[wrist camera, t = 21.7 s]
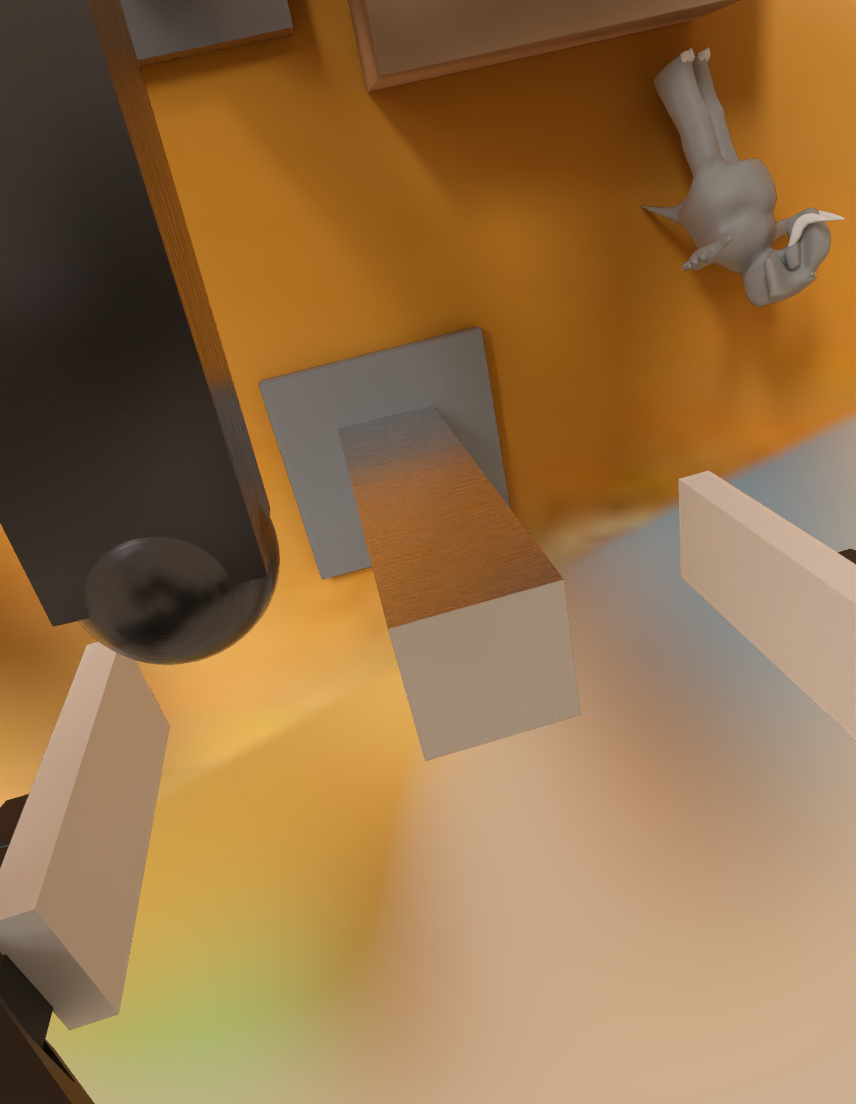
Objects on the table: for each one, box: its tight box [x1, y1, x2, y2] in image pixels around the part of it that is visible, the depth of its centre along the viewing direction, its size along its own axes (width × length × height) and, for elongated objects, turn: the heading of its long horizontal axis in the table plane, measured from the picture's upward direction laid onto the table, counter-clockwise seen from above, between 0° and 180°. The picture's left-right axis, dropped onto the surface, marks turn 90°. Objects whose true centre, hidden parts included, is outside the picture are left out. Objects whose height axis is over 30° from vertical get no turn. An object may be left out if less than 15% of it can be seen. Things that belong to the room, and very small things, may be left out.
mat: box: [259, 326, 510, 580], centre depth 29 cm, size 9×9×1 cm
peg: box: [337, 405, 581, 761], centre depth 23 cm, size 4×4×15 cm
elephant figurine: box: [641, 48, 845, 307], centre depth 25 cm, size 10×6×9 cm
